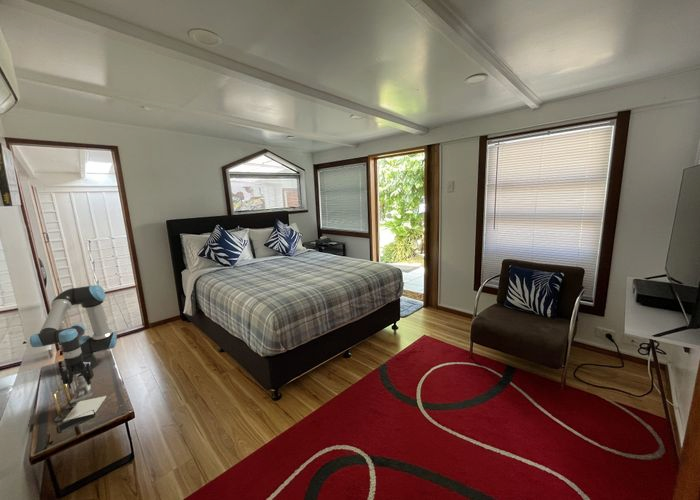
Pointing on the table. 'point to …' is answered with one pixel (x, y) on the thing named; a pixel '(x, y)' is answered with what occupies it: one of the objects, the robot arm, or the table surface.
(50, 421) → the table surface
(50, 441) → the table surface
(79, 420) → the phone
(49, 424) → the table surface
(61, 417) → the wire frame
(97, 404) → the mat
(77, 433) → the table surface
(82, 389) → the camera
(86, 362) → the robot arm
